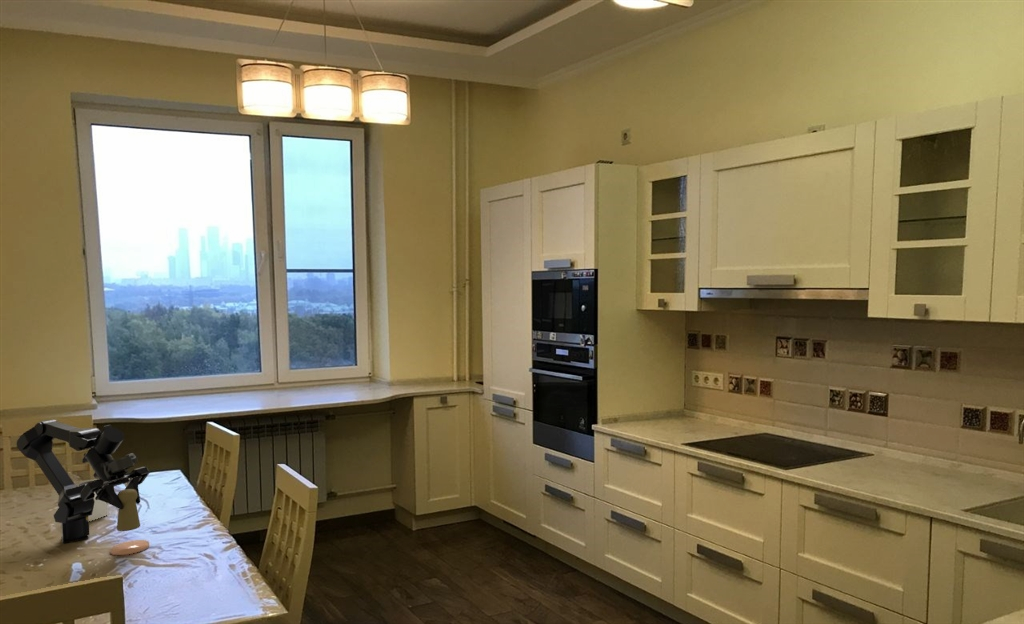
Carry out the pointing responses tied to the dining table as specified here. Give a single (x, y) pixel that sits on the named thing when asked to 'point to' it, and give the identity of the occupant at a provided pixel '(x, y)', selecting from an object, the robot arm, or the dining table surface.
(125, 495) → the cork
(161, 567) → the dining table surface
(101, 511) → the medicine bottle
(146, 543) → the peach round disc
